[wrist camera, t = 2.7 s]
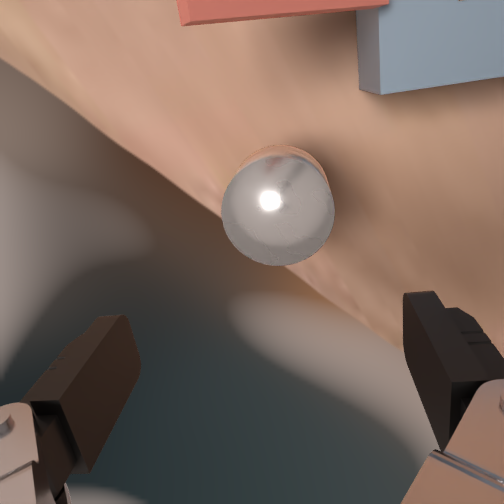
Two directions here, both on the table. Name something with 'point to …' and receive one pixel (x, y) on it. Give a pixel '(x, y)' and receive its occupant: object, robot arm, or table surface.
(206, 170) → the table surface
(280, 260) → the steel pin
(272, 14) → the latch lever
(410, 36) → the block
